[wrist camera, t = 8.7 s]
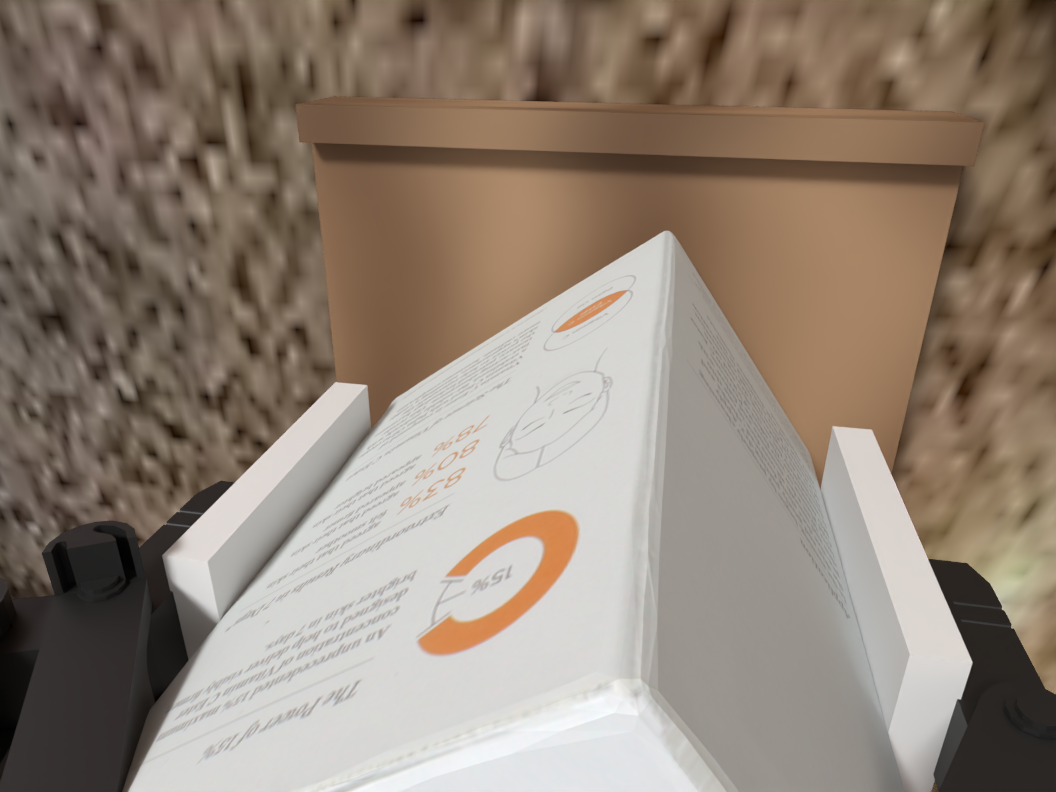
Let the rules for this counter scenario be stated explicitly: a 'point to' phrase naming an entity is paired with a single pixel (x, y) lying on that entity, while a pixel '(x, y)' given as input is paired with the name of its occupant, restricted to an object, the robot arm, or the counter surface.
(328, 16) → the counter surface
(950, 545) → the counter surface
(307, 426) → the robot arm
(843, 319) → the walnut board
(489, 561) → the small box
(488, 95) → the counter surface
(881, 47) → the counter surface
